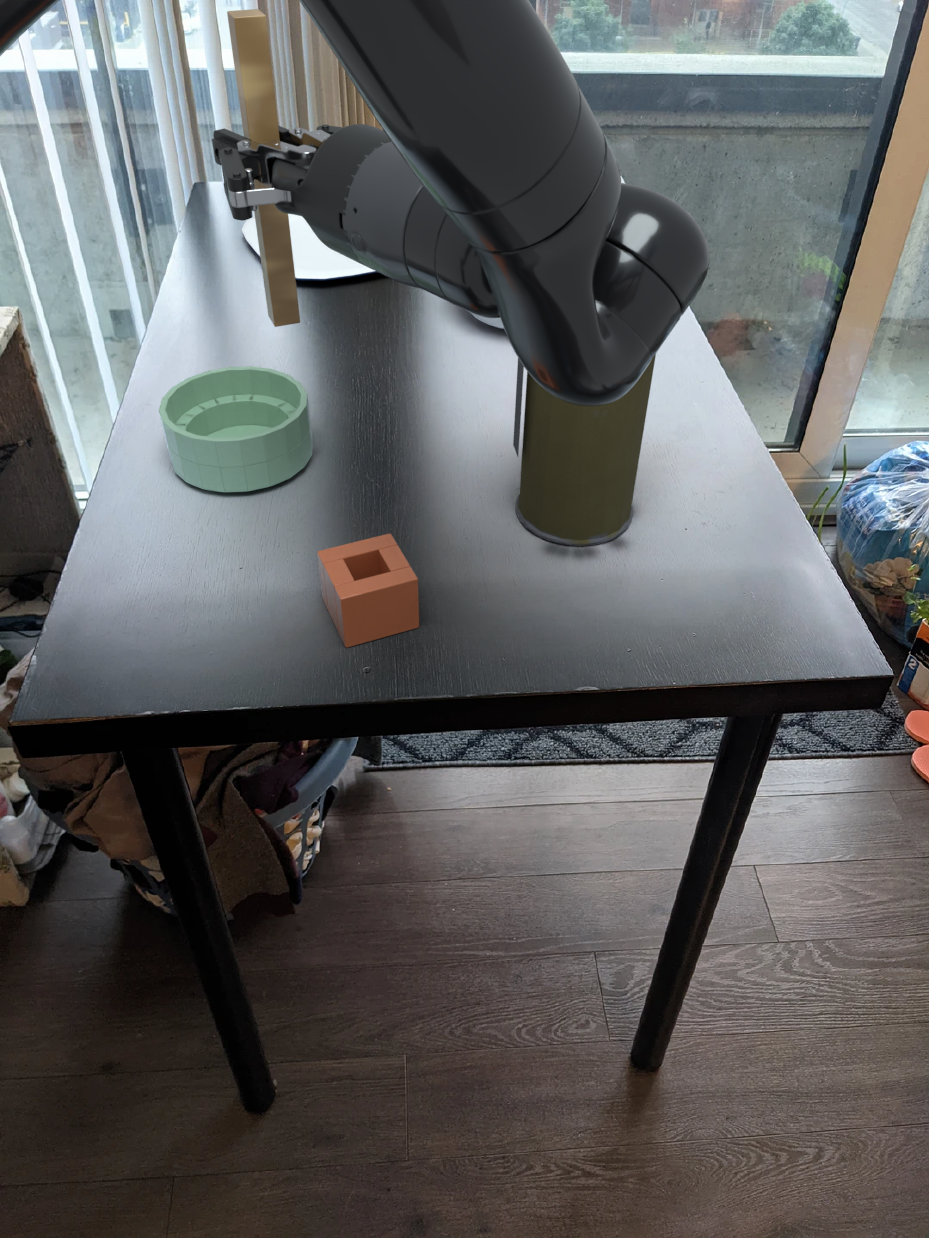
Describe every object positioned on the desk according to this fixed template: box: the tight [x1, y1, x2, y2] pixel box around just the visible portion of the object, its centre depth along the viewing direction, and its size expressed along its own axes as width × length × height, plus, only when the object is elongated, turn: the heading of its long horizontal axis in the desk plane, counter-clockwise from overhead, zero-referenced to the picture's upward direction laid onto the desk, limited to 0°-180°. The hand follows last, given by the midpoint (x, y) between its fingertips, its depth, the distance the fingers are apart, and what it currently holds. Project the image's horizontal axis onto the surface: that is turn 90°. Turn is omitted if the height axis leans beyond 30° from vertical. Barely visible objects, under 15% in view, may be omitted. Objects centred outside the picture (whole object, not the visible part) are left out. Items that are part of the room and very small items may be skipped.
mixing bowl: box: [158, 365, 314, 493], centre depth 88 cm, size 13×13×6 cm
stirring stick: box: [226, 8, 301, 328], centre depth 65 cm, size 2×2×20 cm
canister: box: [512, 353, 657, 547], centre depth 78 cm, size 11×10×20 cm
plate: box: [241, 214, 379, 282], centre depth 128 cm, size 25×25×2 cm
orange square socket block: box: [316, 532, 420, 649], centre depth 73 cm, size 6×6×5 cm
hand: (239, 141), depth 66 cm, fingers closed on stirring stick, 2 cm apart
